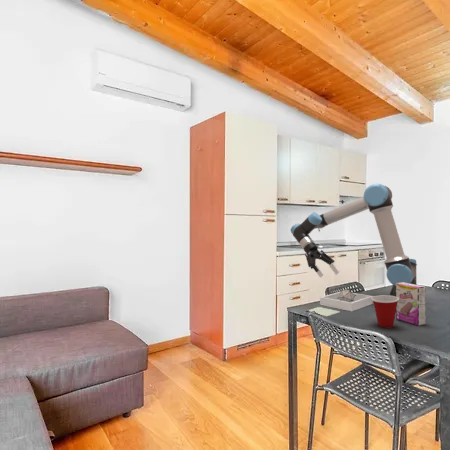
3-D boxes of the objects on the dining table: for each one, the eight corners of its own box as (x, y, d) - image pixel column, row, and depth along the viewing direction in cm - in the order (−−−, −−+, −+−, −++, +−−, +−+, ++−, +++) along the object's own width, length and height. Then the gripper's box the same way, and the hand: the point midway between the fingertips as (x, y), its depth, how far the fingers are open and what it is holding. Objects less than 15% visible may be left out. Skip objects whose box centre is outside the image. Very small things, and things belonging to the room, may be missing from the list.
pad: (339, 312, 167) (339, 311, 167) (326, 316, 160) (326, 315, 160) (318, 307, 176) (318, 306, 176) (305, 311, 169) (305, 310, 169)
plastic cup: (366, 322, 151) (366, 295, 151) (390, 321, 152) (389, 294, 152) (379, 330, 140) (379, 300, 140) (404, 329, 141) (404, 300, 141)
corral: (373, 303, 183) (373, 296, 183) (351, 311, 169) (351, 303, 168) (342, 298, 196) (342, 291, 196) (320, 304, 182) (320, 297, 182)
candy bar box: (395, 319, 155) (394, 283, 154) (402, 317, 157) (402, 281, 156) (418, 326, 145) (418, 287, 144) (426, 324, 147) (426, 286, 146)
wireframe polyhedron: (350, 312, 181) (358, 299, 175) (334, 305, 183) (341, 293, 177) (351, 300, 188) (358, 287, 182) (336, 294, 190) (343, 281, 184)
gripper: (319, 248, 212) (340, 276, 200) (290, 251, 198) (311, 281, 186) (326, 240, 208) (347, 268, 196) (297, 242, 193) (318, 272, 181)
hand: (330, 274), depth 191 cm, fingers open, 13 cm apart
